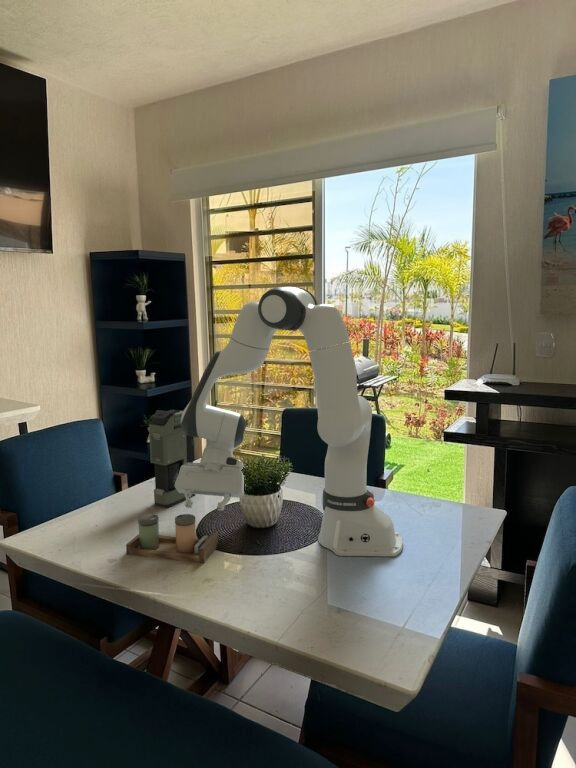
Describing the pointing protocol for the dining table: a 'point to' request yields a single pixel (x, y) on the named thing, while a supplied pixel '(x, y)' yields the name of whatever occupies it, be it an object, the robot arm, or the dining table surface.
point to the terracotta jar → (185, 533)
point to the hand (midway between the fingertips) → (203, 508)
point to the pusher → (200, 544)
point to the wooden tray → (173, 549)
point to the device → (168, 455)
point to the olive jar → (149, 532)
